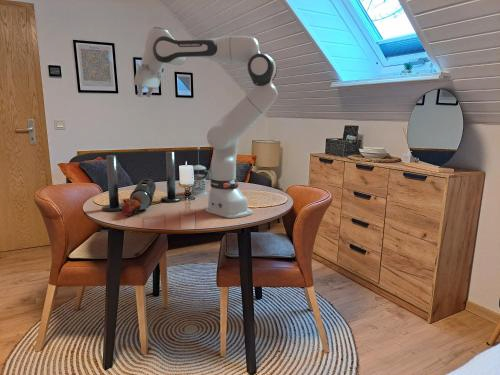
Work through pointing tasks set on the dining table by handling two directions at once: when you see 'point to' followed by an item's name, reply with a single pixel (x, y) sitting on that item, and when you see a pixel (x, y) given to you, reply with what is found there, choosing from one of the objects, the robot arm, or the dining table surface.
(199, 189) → the french press
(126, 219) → the dining table surface
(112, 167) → the posts
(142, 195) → the muzzle brake
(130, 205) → the pomegranate
